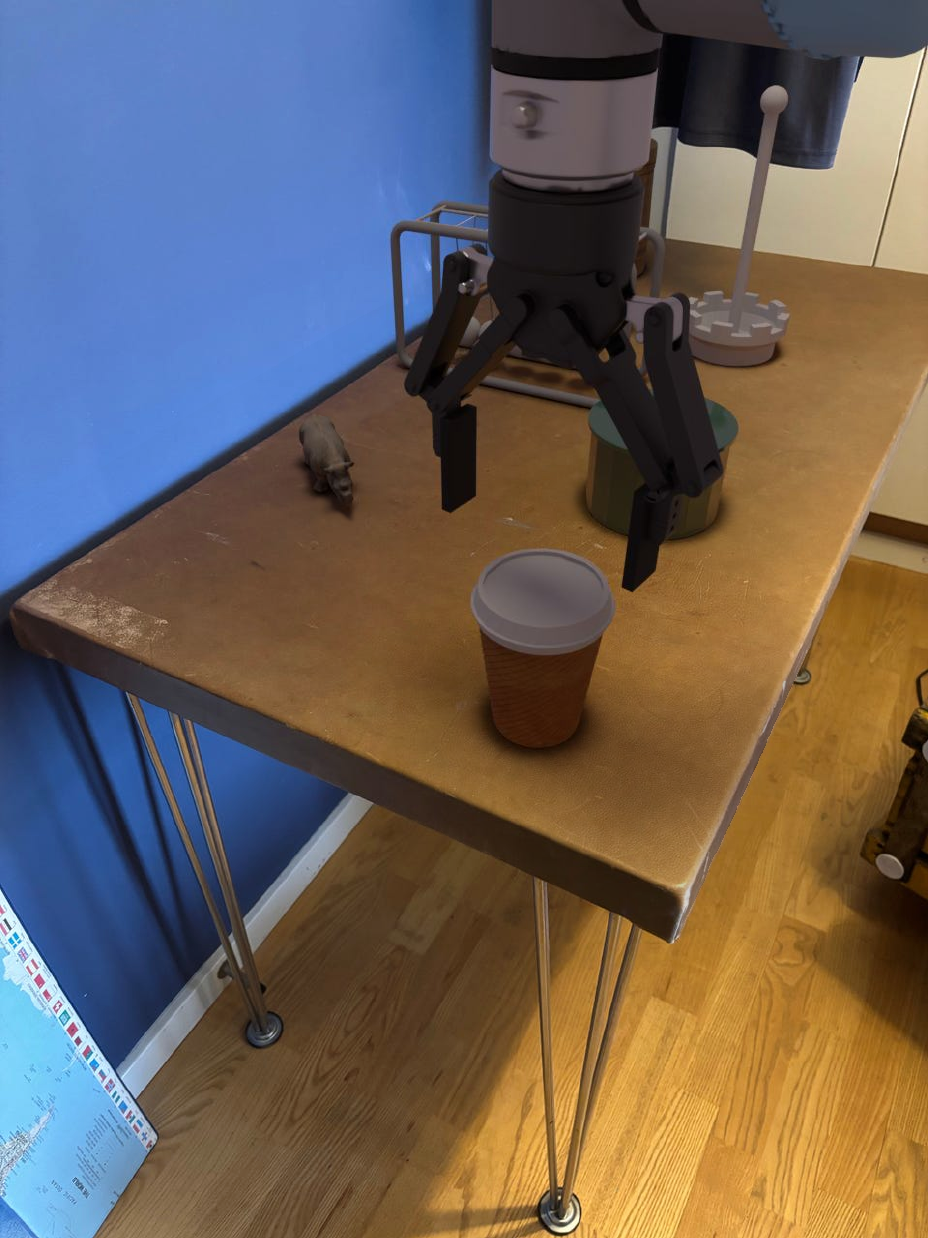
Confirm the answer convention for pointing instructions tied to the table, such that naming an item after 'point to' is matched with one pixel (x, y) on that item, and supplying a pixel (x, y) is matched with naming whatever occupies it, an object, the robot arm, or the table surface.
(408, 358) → the newton's cradle
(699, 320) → the flag stand
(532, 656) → the disposable coffee cup
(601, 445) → the pot
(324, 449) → the rhino figurine
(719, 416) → the pot lid
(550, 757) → the table surface
